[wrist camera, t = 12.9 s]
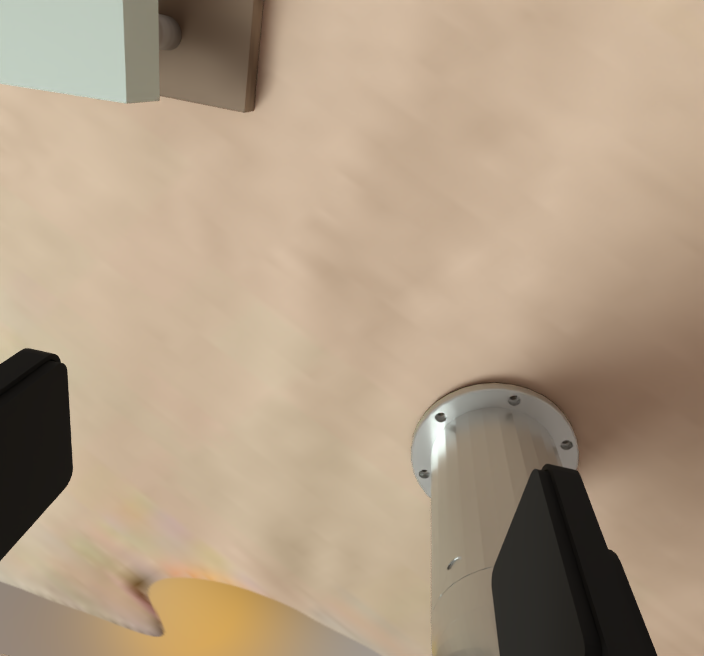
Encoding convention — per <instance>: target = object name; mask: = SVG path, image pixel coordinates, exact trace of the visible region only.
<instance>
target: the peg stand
mask: <svg viewBox="0 0 704 656" xmlns="http://www.w3.org/2000/svg"><path fill="white" fill-rule="evenodd" d="M263 2H264V0H158V19H159V93H160V96H163V97H168V98H173V99H178V100H183V101H188V102H193V103H198V104H203V105H208V106H213V107H218V108H223V109H228V110H233V111H238V112H243V113H245V112H250V111H254V102H255V91H256V80H257V69H258V58H259V46H260V35H261V24H262V13H263Z"/></svg>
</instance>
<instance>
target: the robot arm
mask: <svg viewBox="0 0 704 656" xmlns="http://www.w3.org/2000/svg"><path fill="white" fill-rule="evenodd" d="M511 396H514V397H511ZM578 458H579V450H578V444H577V439H576V436H575V434H574V431H573V429H572V426H571V425H570V423H569V421H568V420H567V418H566V416H565V414H564V413H563V412H562V411H561V410H560V409H559V408H558V407H557V406H556V405H555V404H554V403H553V402H551V401H550V400H548V399H547V398H545V397H544V396H543V395H541V394H538V393H536V392H534V391H532V390H530V389H527V388H524V387H520V386H516V385H512V384H501V383H488V384H477V385H473V386H469V387H465V388H462V389H459V390H457V391H454V392H452V393H450V394H448V395H446V396H445V397H443V398H442V399H440V400H439V401H437V402H436V403H435V404H434V405H433V406H431V407H430V408H429V409H428V410H427V411H426V412H425V414H424V415H423V417H422V418H421V420H420V421H419V423H418V424H417V427H416V429H415V432H414V435H413V440H412V446H411V462H412V467H413V472H414V474H415V477H416V479H417V481H418V483H419V485H420V486H421V488H422V489H423V490H424V492H425V493H426V494H427V495H428V496H429V497H430V498H431V647H432V656H657V654H656V651H655V648H654V646H653V643H652V641H651V638H650V636H649V633H648V631H647V628H646V626H645V623H644V620H643V618H642V615H641V613H640V610H639V608H638V605H637V603H636V600H635V597H634V595H633V592H632V590H631V587H630V585H629V582H628V580H627V577H626V575H625V572H624V569H623V567H622V564H621V562H620V560H619V558H618V556H617V554H616V553H614V552H613V551H612V550H609V549H608V548H607V545H606V543H605V540H604V537H603V535H602V532H601V529H600V527H599V524H598V521H597V519H596V516H595V513H594V511H593V508H592V505H591V503H590V500H589V497H588V495H587V492H586V489H585V487H584V484H583V481H582V479H581V476H580V474H579V472H578V471H577V467H578ZM72 472H73V463H72V445H71V428H70V410H69V392H68V375H67V367H66V366H65V364H63V363H61V361H60V359H59V357H58V356H57V355H56V354H52V353H48V352H43V351H39V350H34V349H30V348H25V349H23V350H21V351H19V352H18V353H16V354H15V355H13V356H12V357H10V358H9V359H7V360H6V361H4V362H3V363H1V364H0V561H1V559H2V558H3V557H4V556H5V555H6V554H7V553H8V552H9V550H10V549H11V548H12V547H13V546H14V545H15V544H16V543H17V541H18V540H19V539H20V538H21V537H22V536H23V535H24V534H25V533H26V531H27V530H28V529H29V528H30V527H31V526H32V525H33V524H34V522H35V521H36V520H37V519H38V518H39V517H40V516H41V515H42V513H43V512H44V511H45V510H46V509H47V508H48V507H49V506H50V504H51V503H52V502H53V501H54V500H55V499H56V498H57V497H58V495H59V494H60V493H61V492H62V491H63V490H64V489H65V487H66V486H67V485H68V483H69V481H70V479H71V476H72ZM0 656H9V655H5V654H0Z"/></svg>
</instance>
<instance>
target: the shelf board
mask: <svg viewBox="0 0 704 656" xmlns="http://www.w3.org/2000/svg"><path fill="white" fill-rule="evenodd" d="M0 84H6V85H12V86H18V87H25V88H31V89H37V90H44V91H50V92H57V93H63V94H69V95H76V96H82V97H88V98H95V99H101V100H108V101H114V102H120V103H138V102H150V101H160V93H159V19H158V0H0Z"/></svg>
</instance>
